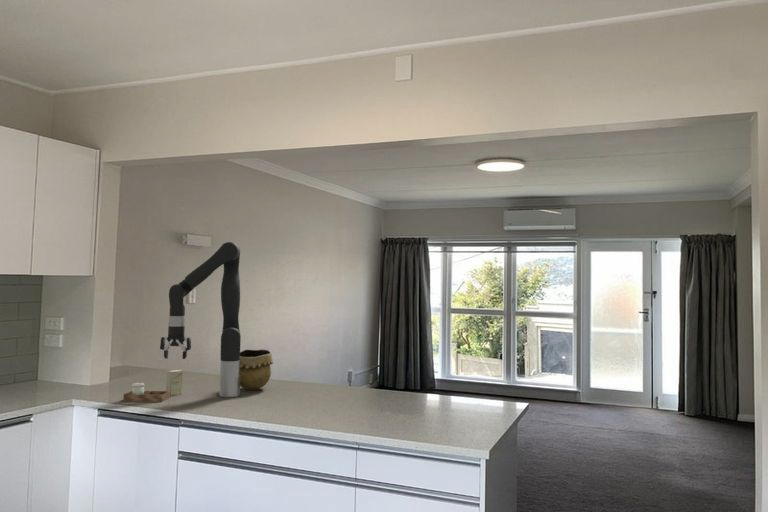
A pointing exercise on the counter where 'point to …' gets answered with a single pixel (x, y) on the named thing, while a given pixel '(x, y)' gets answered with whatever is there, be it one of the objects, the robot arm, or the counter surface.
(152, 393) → the caddy
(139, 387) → the jar
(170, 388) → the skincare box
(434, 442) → the counter surface
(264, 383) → the clay pot
